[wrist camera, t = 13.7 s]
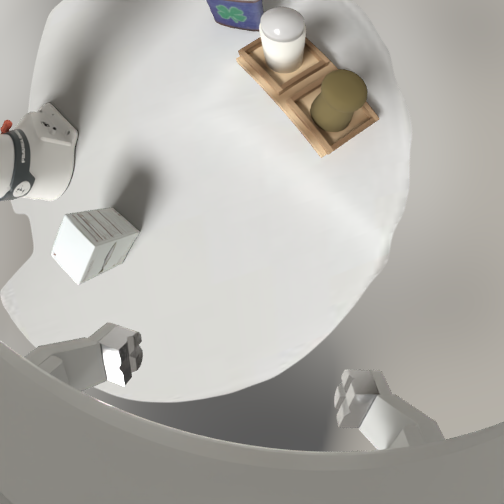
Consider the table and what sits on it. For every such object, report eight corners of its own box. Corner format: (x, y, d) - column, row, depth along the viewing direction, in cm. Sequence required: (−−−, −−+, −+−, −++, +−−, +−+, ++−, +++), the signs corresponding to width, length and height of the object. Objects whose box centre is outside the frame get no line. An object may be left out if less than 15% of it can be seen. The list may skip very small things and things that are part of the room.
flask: (268, 23, 32) (262, -15, 22) (261, 35, 33) (253, -3, 22) (219, 12, 32) (202, -23, 22) (211, 23, 33) (192, -11, 23)
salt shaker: (257, 56, 33) (247, 18, 22) (286, 39, 31) (285, -1, 21) (281, 79, 33) (279, 45, 23) (310, 61, 32) (317, 24, 22)
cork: (317, 88, 33) (328, 53, 22) (356, 103, 33) (380, 76, 22) (304, 122, 34) (311, 97, 24) (344, 139, 34) (366, 120, 23)
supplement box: (123, 264, 44) (78, 287, 32) (96, 238, 44) (48, 254, 31) (142, 231, 42) (95, 247, 30) (113, 205, 42) (63, 212, 30)
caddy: (237, 62, 34) (233, 53, 31) (291, 29, 32) (291, 20, 29) (322, 159, 37) (325, 156, 34) (376, 121, 34) (383, 116, 31)
